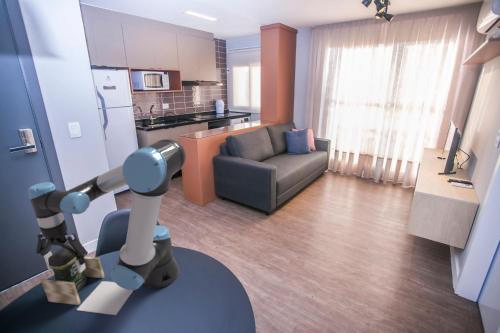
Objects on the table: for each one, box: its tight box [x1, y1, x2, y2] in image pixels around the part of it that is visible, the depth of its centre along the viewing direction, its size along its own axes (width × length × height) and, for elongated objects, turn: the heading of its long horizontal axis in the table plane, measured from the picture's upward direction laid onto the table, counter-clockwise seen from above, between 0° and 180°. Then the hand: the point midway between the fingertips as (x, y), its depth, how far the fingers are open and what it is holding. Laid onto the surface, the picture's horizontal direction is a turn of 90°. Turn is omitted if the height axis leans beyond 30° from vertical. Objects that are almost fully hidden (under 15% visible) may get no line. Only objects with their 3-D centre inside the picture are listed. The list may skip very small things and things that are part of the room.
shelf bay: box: [40, 256, 106, 306], centre depth 100 cm, size 14×14×10 cm
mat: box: [76, 280, 134, 316], centre depth 97 cm, size 16×14×1 cm
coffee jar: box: [48, 247, 87, 293], centre depth 99 cm, size 10×8×19 cm
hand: (67, 268), depth 99 cm, fingers open, 13 cm apart
